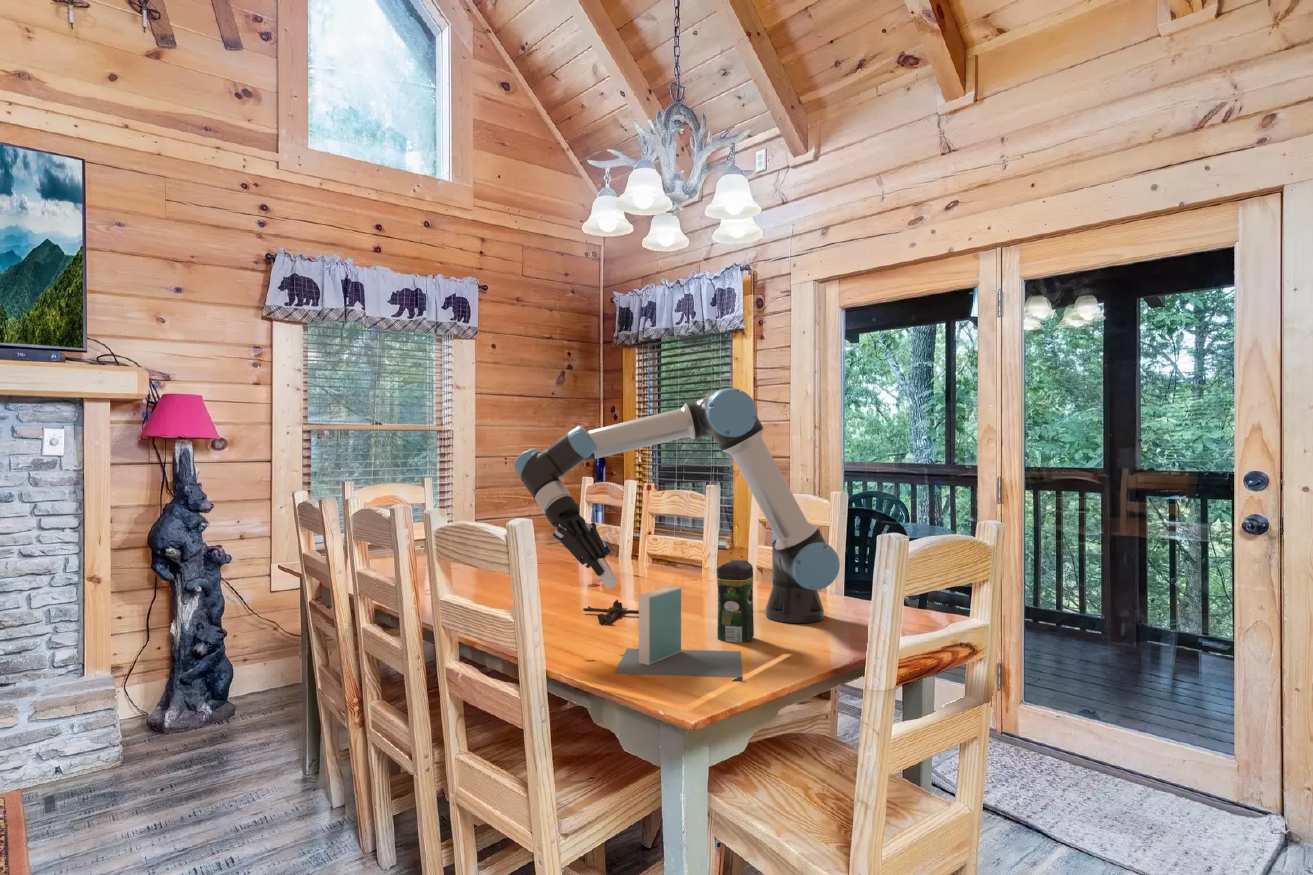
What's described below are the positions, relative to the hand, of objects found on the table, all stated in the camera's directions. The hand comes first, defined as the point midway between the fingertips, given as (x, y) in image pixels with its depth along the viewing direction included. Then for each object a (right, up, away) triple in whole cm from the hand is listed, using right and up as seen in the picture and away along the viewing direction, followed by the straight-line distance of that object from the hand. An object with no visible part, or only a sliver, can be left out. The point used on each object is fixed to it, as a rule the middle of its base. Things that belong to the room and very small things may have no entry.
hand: (613, 585), depth 165 cm
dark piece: (-2, -16, +33) cm, 36 cm away
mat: (+15, -15, -10) cm, 23 cm away
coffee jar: (+28, -15, +10) cm, 33 cm away
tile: (+10, -14, -6) cm, 19 cm away
